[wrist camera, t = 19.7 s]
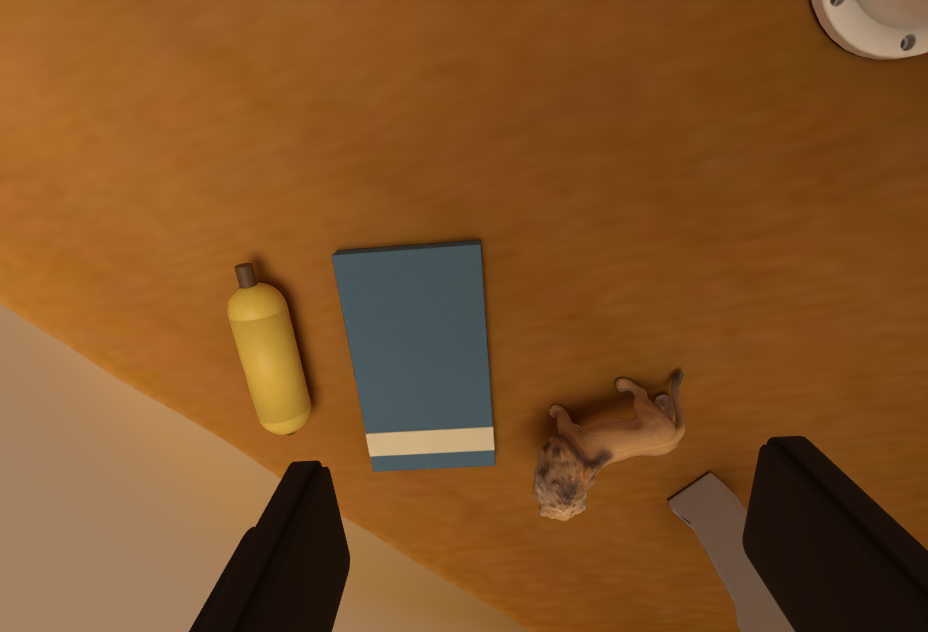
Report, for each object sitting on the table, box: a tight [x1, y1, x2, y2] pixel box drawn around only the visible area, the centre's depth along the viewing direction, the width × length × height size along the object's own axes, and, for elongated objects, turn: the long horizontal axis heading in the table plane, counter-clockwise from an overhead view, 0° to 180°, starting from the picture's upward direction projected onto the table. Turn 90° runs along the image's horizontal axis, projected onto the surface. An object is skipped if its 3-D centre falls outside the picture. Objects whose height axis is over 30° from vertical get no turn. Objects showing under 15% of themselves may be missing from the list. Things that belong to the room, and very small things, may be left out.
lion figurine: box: [533, 372, 686, 521], centre depth 36 cm, size 15×5×9 cm, turn 123°
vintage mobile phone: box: [668, 473, 795, 632], centre depth 32 cm, size 4×5×25 cm
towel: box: [332, 240, 496, 472], centre depth 38 cm, size 20×11×2 cm, turn 5°
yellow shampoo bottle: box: [227, 263, 311, 435], centre depth 36 cm, size 15×4×4 cm
